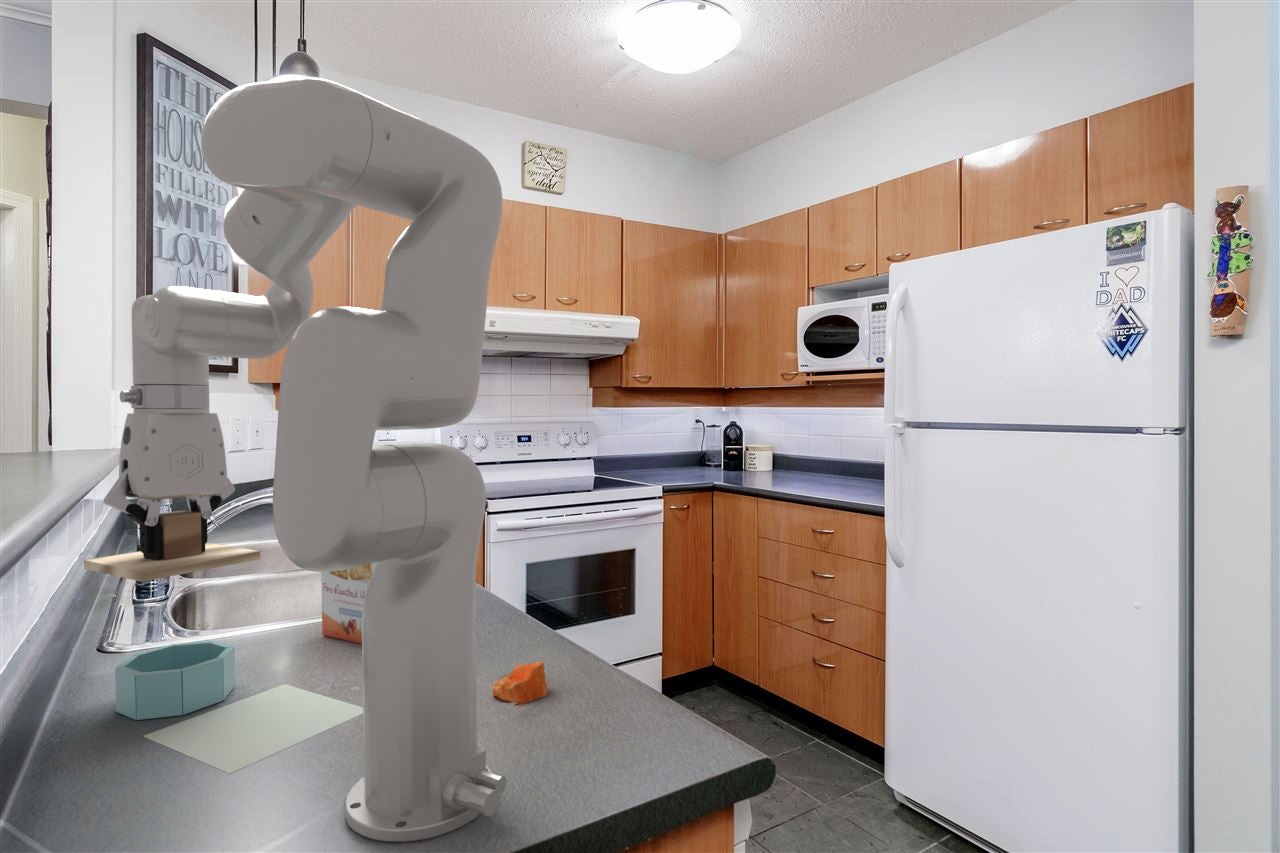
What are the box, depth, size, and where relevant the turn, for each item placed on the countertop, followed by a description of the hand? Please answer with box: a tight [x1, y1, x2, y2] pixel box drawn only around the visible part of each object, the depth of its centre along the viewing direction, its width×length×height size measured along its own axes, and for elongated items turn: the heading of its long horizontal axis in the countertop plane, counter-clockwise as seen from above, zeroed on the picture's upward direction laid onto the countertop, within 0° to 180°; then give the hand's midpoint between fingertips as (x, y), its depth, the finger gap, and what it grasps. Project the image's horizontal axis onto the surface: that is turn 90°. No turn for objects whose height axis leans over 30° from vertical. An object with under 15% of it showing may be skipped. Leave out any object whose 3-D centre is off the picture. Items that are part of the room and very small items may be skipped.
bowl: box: [114, 640, 236, 721], centre depth 83 cm, size 11×11×6 cm
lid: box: [83, 510, 261, 583], centre depth 82 cm, size 13×13×6 cm
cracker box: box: [320, 562, 378, 645], centre depth 106 cm, size 14×6×21 cm, turn 62°
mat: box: [142, 683, 363, 775], centre depth 76 cm, size 16×16×1 cm
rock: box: [491, 660, 548, 707], centre depth 84 cm, size 12×12×4 cm
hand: (174, 553), depth 82 cm, fingers closed on lid, 4 cm apart
